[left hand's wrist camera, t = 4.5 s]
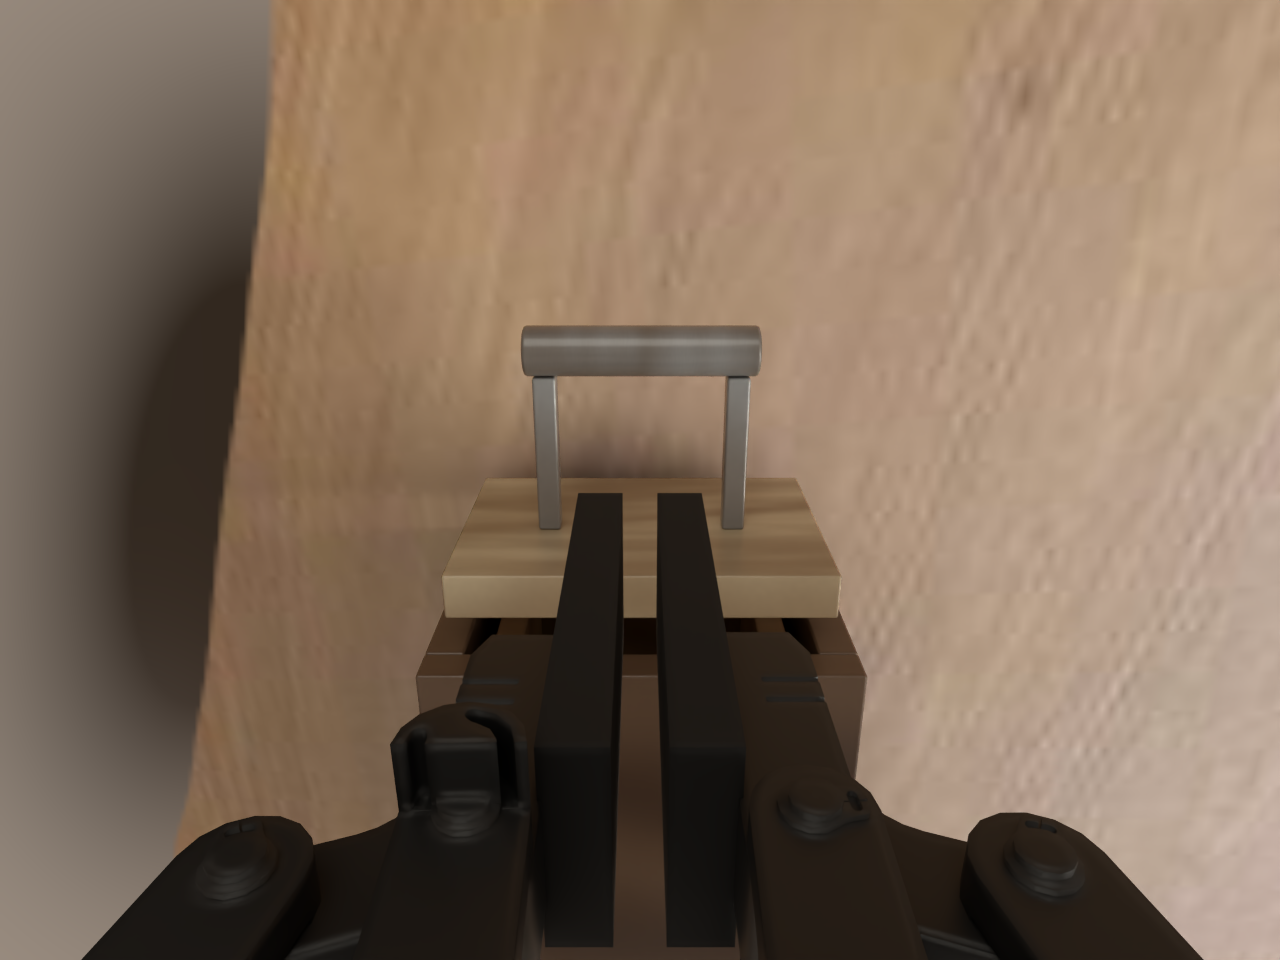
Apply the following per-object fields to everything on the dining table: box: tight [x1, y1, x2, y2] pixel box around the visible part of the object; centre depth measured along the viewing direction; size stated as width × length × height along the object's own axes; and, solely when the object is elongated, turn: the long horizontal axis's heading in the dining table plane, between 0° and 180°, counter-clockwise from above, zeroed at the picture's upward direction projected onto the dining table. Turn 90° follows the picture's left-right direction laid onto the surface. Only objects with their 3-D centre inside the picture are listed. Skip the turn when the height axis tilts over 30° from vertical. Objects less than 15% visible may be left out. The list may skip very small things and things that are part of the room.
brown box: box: [416, 609, 867, 960], centre depth 28 cm, size 17×11×9 cm, turn 0°
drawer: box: [441, 326, 842, 654], centre depth 26 cm, size 21×10×7 cm, turn 0°
